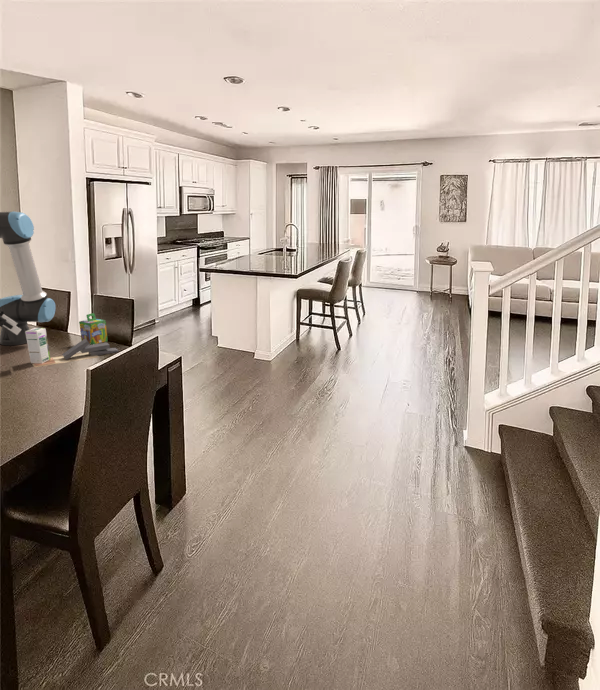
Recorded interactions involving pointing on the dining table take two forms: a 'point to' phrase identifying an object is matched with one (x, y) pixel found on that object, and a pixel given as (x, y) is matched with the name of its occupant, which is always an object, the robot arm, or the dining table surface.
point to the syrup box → (38, 345)
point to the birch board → (62, 360)
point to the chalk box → (93, 330)
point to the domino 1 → (75, 349)
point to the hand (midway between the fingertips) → (17, 329)
